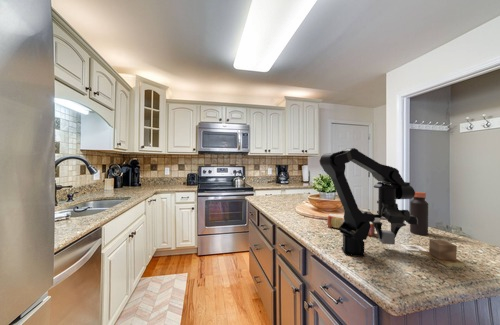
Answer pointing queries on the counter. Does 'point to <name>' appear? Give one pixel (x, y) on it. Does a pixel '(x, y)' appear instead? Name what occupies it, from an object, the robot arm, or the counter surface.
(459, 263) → the shard
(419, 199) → the bottle
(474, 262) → the counter surface
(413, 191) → the robot arm
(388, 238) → the gray cube
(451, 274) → the counter surface
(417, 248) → the plan card
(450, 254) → the walnut block
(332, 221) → the snack package
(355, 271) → the counter surface
